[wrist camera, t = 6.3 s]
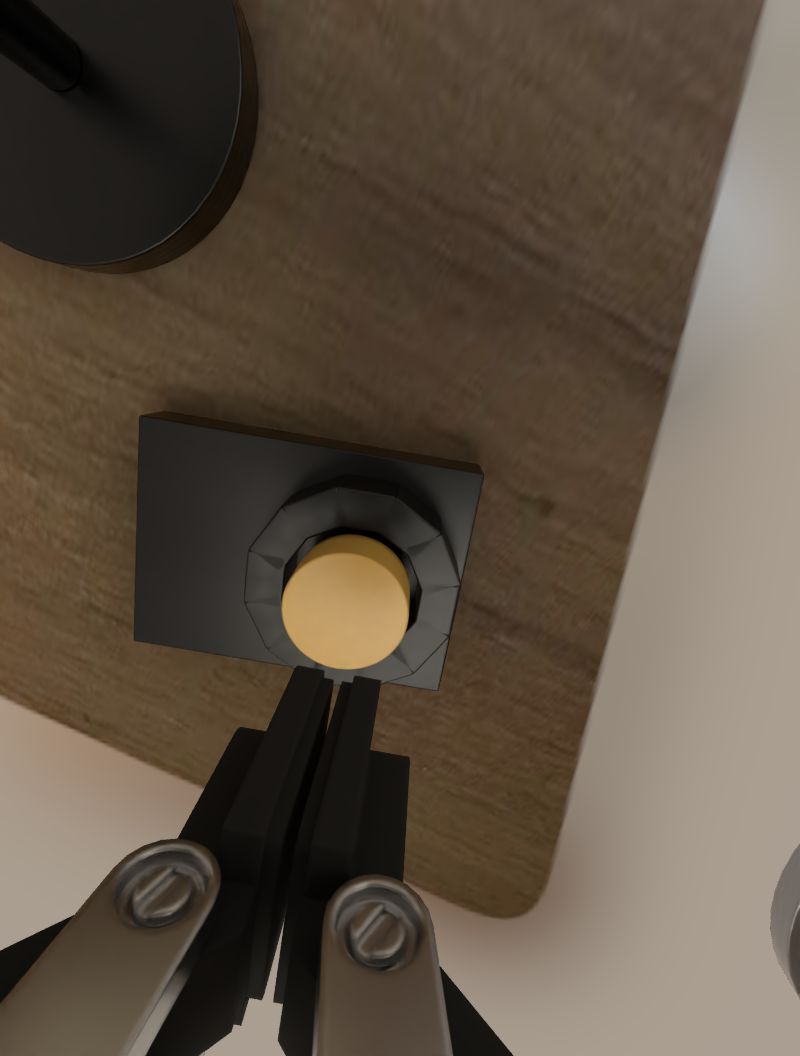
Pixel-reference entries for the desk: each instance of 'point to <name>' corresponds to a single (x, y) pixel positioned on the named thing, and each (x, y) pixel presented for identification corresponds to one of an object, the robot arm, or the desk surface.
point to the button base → (289, 537)
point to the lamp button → (347, 602)
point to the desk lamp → (121, 127)
